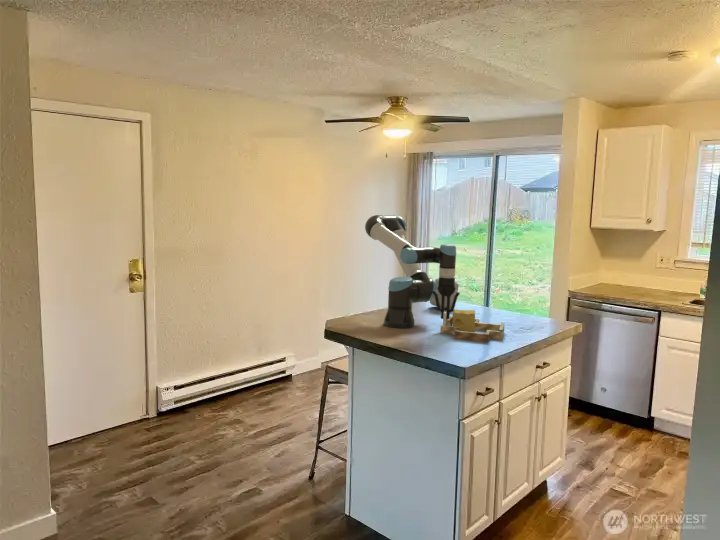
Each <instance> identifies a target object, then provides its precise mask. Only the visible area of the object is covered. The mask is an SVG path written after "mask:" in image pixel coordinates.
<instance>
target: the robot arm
mask: <svg viewBox="0 0 720 540" xmlns="http://www.w3.org/2000/svg"><path fill="white" fill-rule="evenodd" d="M364 230H365V233H366V234H367V236H368V237H369V238H371V239H373V240H374V241H378V242H380V243H382V244H383V245H384V246H386V247H387V248H389V249H390V250H391V251H393V253H394V255H395V257H396V259H397V260H398V263H399V265H400V267H401V269H402V271H403V274H404V275H405V276H398V277H393V278H391V279H390V280H389V283H388V296H387V297H388V301H387V311H386V314H385V316H384V319H383V325H384V326H387V327H388V328H389V327H390V328H398V329H405V328H406V329H409V328H412V327H415V324H416V323H415V321H416V320H415V318H414V314H413V310H412V307H413V304H414V303H427V302H430V301H431V300H433V299H434V298H435V300H436V305H437V306H436V309H437V311H439V312H440V318H441V320H442V326H447V319H449V317H451V316H450V313H453V312H454V309H455V307H456V303H457V300H458V297H459V296H460V294H461V292H460V291H459V290H458V291H456V289H455V282H456V278H455V276H456V260H457V246H456V245H454V244H446V243H444V244H443V243H442V244H440V246H439V247H435V246H425V247H416V246H414V245H412V244H410V243H409V242H408V241H407V239H406V237H405V236H406V232H407V224H406V221H405V219H404V218H403V217H402V216H400V215H395V214H391V215H382V214H375V215H372V216H370V217H369V218H368V219H367V220H366V222H365V226H364ZM429 263H430V264H439V266H438V267H439V269H438V279H439V286H438V287H437V283H436V281H435V279H434V278H432V277H430V278H429V275H428V274H427V272H426V271H422V268H421V266H420V264H429ZM439 276H440V277H439ZM438 291H439V293H440V294H441V295H442V303H441V307H440V302H439V297H438ZM454 292H455V294H454V295H455V297H454V300H453V303H452V307H451V308H450V298H451V295H452V294H453V293H454ZM445 296H447V308H445ZM445 309H446V311H445Z"/></svg>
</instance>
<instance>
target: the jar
mask: <svg viewBox="0 0 720 540" xmlns="http://www.w3.org/2000/svg"><path fill="white" fill-rule="evenodd" d="M439 277H440V276H439V275H438V278H435V279H434V280H435V281H436V283H437V287H438V286H439ZM455 289H456V291H458V292H459V283H458V282H457V281H455ZM454 294H455V292H454V293H453V294H452V295H451V298H450V309H451V307H452V303H453V300H454V297H455V295H454ZM438 297H439V302H440V307H441V303H442V295H441V294H440V293H439V291H438ZM429 303H430V304H431V305H432V306H434V307H437V305H436V300H435V298H434V299H433V300H431V301H429ZM445 309H447V296H445Z"/></svg>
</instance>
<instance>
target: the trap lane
mask: <svg viewBox="0 0 720 540" xmlns="http://www.w3.org/2000/svg"><path fill="white" fill-rule="evenodd" d="M452 317H453V316H449V319H447V326H443V324H441V325H440V334H441V335H442V334H443V335H452V336H453V337H454V340H464V341H472V342H481V343H489V342H490V339H493V340H500V341H501V340H503V337H504V333H505V322H501V323H500V324H499V323H488V322H480V319H479V318H475V332H465V331H460V328H461V327H453V326H452ZM476 331H483V332H485V333H483V332H476Z"/></svg>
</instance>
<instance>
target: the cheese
mask: <svg viewBox="0 0 720 540" xmlns="http://www.w3.org/2000/svg"><path fill="white" fill-rule="evenodd" d="M451 317H452V324H451V326H453V327H461V328H460V331H465V332H475V333H476V330H475V319H476V310H475V309H474V310H473V309H469V310H468V309H466V310H464V309H455V308H454V310H453V312H452V316H451Z"/></svg>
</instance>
